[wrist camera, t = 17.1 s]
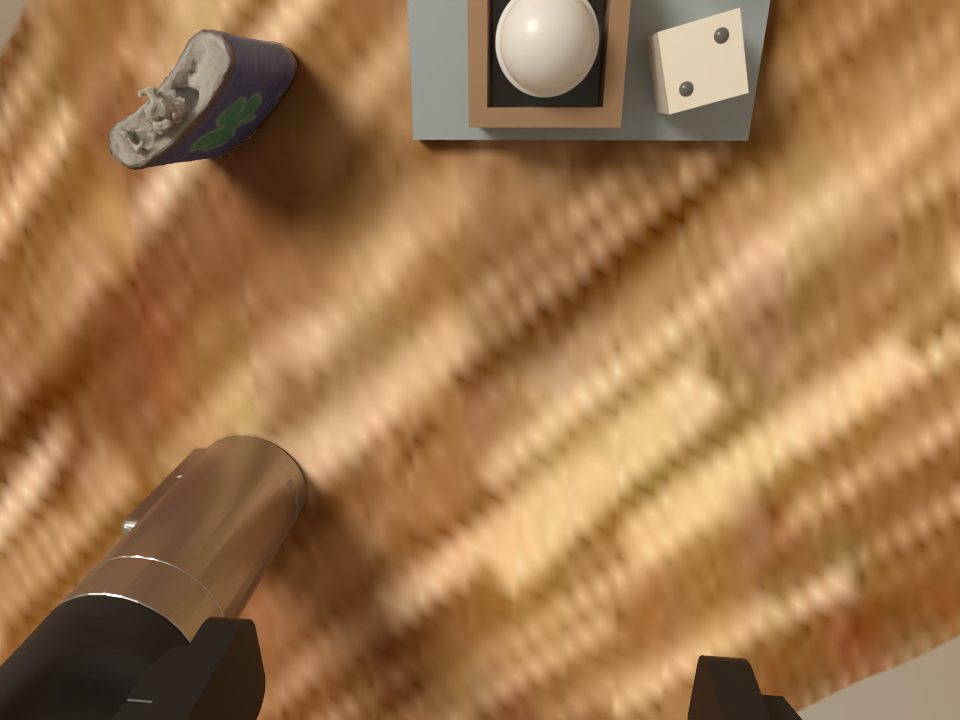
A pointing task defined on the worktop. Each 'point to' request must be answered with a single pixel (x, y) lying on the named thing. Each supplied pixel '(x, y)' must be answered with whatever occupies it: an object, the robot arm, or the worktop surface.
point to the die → (698, 62)
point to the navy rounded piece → (206, 101)
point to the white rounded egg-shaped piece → (547, 44)
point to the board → (588, 106)
